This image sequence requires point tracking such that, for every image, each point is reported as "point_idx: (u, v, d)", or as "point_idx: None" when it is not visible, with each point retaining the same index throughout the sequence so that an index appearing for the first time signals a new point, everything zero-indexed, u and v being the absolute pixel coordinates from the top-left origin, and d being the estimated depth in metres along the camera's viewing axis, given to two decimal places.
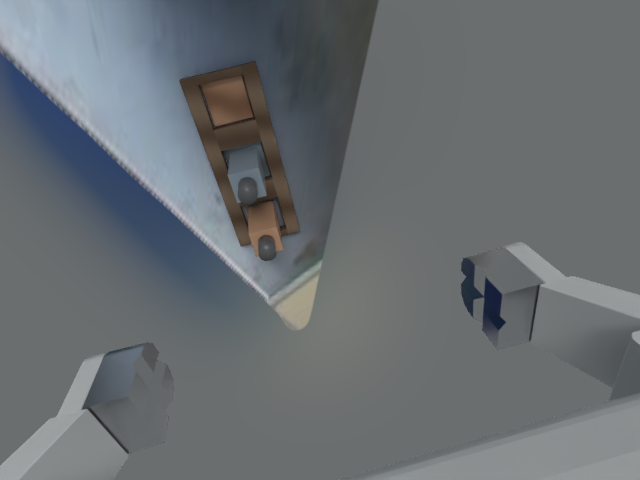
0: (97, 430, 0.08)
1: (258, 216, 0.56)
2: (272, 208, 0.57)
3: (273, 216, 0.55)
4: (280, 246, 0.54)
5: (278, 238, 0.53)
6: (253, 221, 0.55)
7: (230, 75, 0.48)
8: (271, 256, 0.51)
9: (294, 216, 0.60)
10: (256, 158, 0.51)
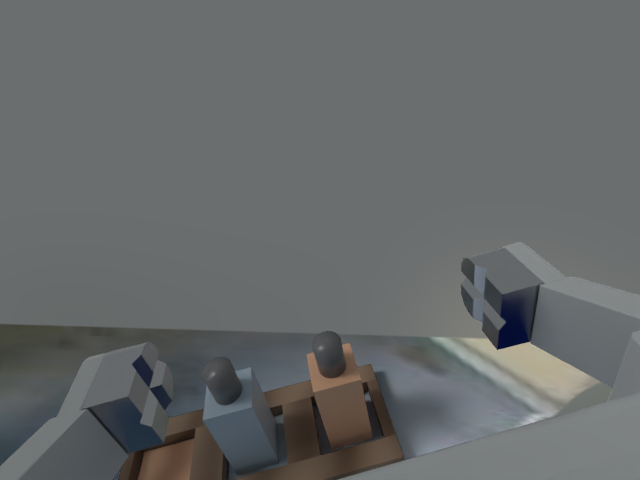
0: (97, 430, 0.08)
1: None
2: None
3: None
4: (342, 346, 0.33)
5: None
6: None
7: (130, 460, 0.36)
8: (333, 336, 0.31)
9: None
10: None
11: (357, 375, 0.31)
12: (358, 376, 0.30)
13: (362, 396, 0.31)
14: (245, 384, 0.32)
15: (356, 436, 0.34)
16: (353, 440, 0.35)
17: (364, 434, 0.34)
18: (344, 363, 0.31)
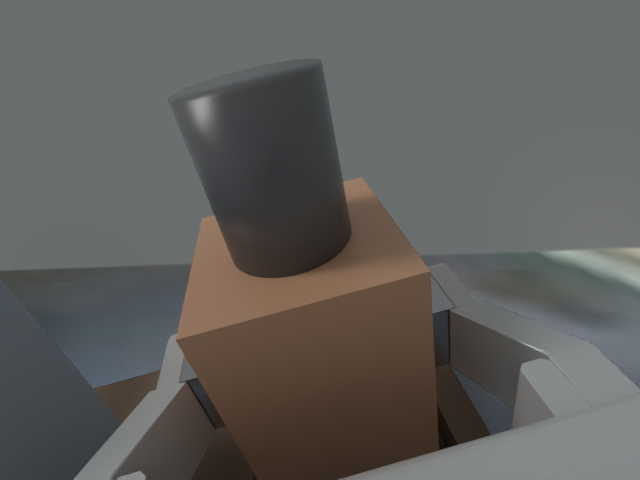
0: (193, 403, 0.08)
1: None
2: None
3: None
4: None
5: None
6: None
7: None
8: (285, 65, 0.06)
9: None
10: None
11: (408, 257, 0.06)
12: (414, 260, 0.06)
13: (426, 367, 0.07)
14: None
15: None
16: None
17: None
18: (344, 211, 0.07)
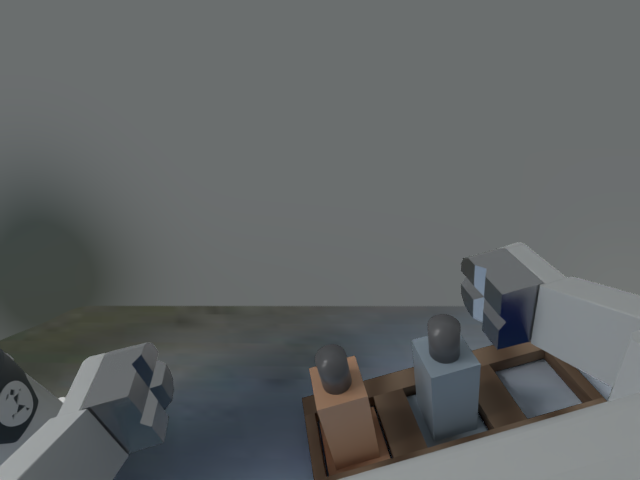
0: (97, 430, 0.08)
1: None
2: None
3: None
4: (347, 360, 0.31)
5: None
6: None
7: (314, 428, 0.35)
8: (337, 350, 0.29)
9: None
10: (414, 369, 0.34)
11: (363, 391, 0.29)
12: (365, 392, 0.29)
13: (369, 413, 0.29)
14: (459, 343, 0.31)
15: (363, 455, 0.32)
16: (359, 459, 0.33)
17: (371, 452, 0.32)
18: (350, 378, 0.29)
